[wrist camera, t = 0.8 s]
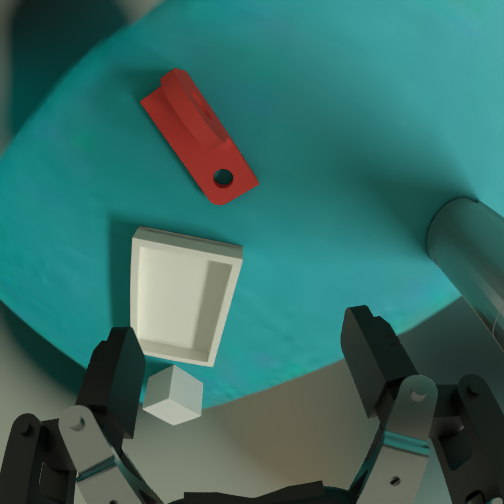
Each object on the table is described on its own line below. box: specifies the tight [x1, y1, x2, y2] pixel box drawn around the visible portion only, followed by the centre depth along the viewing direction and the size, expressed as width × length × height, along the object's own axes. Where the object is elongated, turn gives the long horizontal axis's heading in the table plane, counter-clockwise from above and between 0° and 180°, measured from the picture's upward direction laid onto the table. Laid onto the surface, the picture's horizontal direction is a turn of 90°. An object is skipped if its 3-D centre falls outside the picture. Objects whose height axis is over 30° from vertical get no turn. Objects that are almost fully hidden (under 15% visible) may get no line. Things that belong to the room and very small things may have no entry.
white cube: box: [142, 365, 203, 425], centre depth 40 cm, size 6×6×6 cm
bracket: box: [140, 68, 259, 205], centre depth 22 cm, size 12×4×8 cm, turn 30°
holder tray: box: [130, 226, 243, 367], centre depth 33 cm, size 11×17×2 cm, turn 165°
